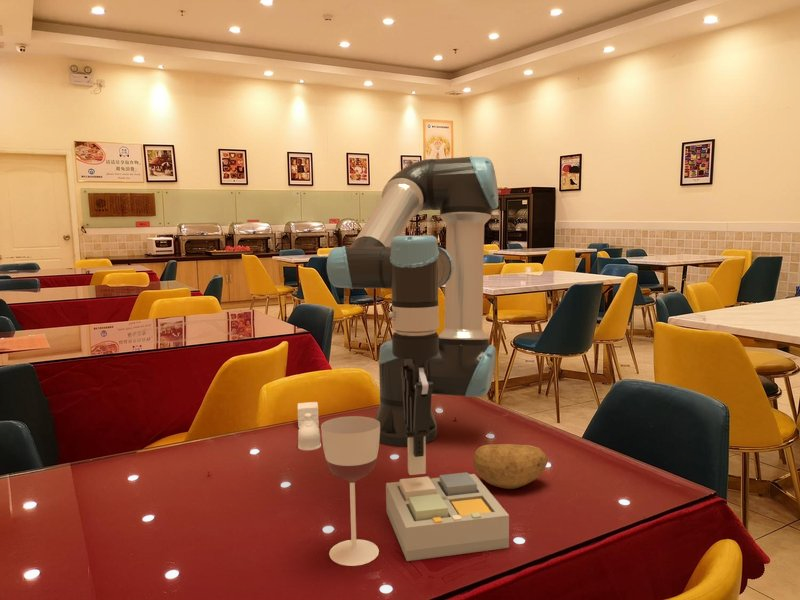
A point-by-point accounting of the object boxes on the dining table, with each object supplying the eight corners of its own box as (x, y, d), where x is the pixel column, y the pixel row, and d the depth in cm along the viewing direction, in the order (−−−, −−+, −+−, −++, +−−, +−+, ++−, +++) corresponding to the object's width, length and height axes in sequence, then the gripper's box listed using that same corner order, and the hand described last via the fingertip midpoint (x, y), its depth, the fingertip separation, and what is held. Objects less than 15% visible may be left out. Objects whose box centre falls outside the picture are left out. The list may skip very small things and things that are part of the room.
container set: (298, 423, 153) (297, 402, 152) (318, 422, 154) (318, 401, 153) (297, 452, 134) (296, 428, 133) (321, 450, 134) (320, 426, 134)
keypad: (386, 511, 104) (385, 481, 103) (474, 501, 107) (474, 472, 107) (406, 561, 89) (406, 525, 88) (508, 547, 92) (509, 513, 91)
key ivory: (399, 494, 102) (399, 479, 102) (428, 490, 103) (428, 476, 103) (406, 507, 97) (406, 491, 97) (436, 503, 98) (435, 488, 98)
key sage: (408, 512, 95) (408, 497, 95) (439, 509, 96) (439, 493, 96) (416, 527, 90) (416, 511, 90) (448, 524, 92) (448, 507, 91)
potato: (554, 495, 109) (555, 453, 108) (477, 498, 109) (477, 455, 108) (539, 473, 119) (540, 434, 118) (469, 476, 119) (469, 437, 118)
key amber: (451, 517, 97) (451, 501, 97) (480, 513, 98) (480, 498, 98) (460, 532, 92) (460, 516, 92) (491, 528, 93) (491, 512, 93)
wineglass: (326, 540, 95) (322, 417, 93) (381, 537, 96) (378, 415, 93) (324, 568, 87) (319, 434, 85) (384, 564, 88) (381, 432, 85)
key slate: (439, 489, 104) (439, 475, 103) (467, 486, 105) (467, 472, 104) (447, 502, 99) (447, 487, 98) (476, 499, 100) (476, 484, 99)
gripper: (385, 326, 102) (387, 460, 105) (400, 339, 90) (403, 491, 92) (427, 324, 104) (428, 456, 107) (449, 337, 91) (450, 486, 94)
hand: (416, 472), depth 99 cm, fingers closed
